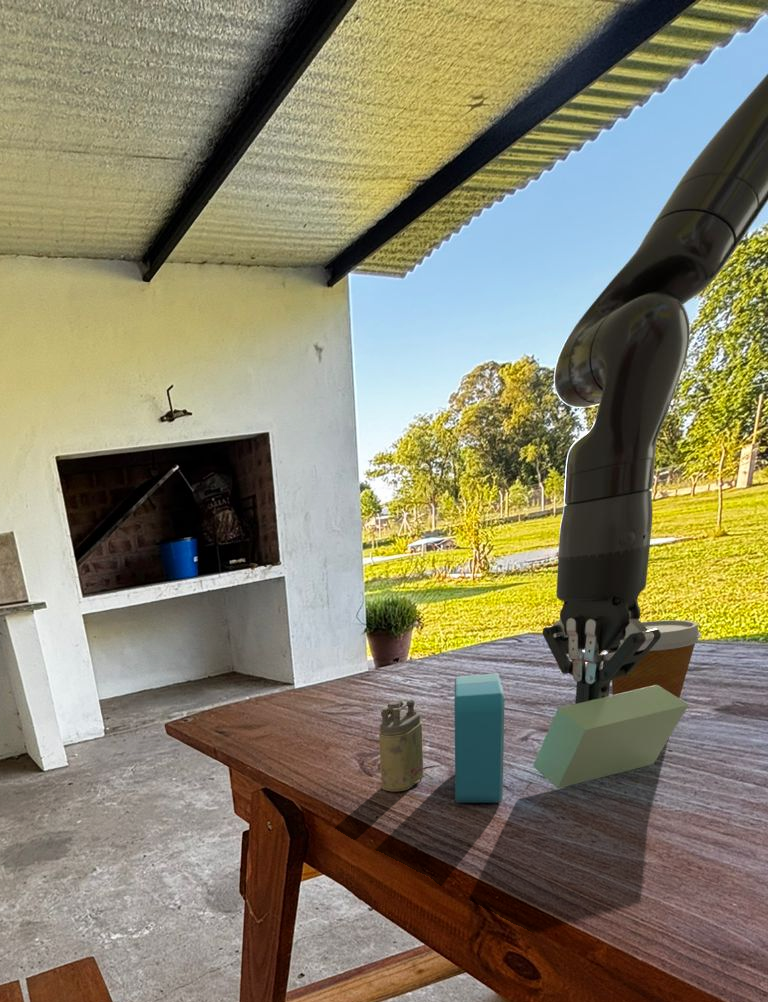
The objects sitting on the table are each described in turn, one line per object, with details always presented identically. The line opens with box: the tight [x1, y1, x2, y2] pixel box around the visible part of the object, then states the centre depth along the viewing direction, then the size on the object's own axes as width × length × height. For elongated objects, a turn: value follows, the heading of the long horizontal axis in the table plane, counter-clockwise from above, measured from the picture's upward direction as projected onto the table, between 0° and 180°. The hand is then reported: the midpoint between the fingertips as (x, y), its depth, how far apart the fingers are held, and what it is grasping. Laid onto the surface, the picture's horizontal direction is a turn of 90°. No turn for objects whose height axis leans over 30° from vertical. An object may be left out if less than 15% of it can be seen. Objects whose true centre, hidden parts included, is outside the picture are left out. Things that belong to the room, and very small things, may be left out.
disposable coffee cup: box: [611, 619, 702, 699], centre depth 79 cm, size 10×10×12 cm
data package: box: [454, 672, 505, 804], centre depth 68 cm, size 12×4×12 cm, turn 156°
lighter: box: [378, 699, 425, 792], centre depth 74 cm, size 7×4×10 cm, turn 137°
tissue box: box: [532, 685, 690, 789], centre depth 66 cm, size 12×4×8 cm, turn 101°
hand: (590, 714), depth 67 cm, fingers closed
